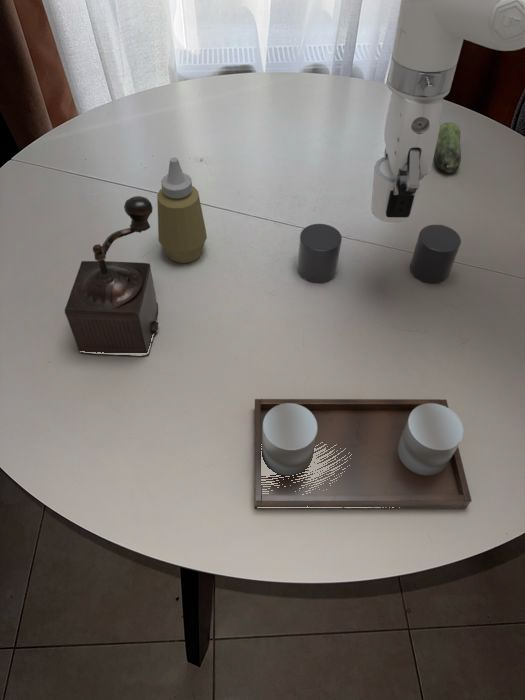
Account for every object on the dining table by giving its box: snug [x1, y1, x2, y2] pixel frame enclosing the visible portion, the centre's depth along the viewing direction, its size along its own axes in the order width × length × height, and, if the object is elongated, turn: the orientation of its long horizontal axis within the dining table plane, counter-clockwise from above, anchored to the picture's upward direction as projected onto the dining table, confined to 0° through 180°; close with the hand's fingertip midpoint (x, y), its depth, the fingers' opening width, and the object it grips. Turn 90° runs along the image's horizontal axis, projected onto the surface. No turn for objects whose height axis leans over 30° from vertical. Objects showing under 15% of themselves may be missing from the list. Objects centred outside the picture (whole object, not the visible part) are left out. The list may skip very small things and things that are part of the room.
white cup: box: [370, 156, 425, 224], centre depth 81 cm, size 7×7×7 cm
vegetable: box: [434, 121, 462, 174], centre depth 117 cm, size 14×5×5 cm, turn 170°
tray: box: [254, 398, 472, 509], centre depth 73 cm, size 26×15×7 cm, turn 91°
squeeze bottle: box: [156, 156, 208, 264], centre depth 92 cm, size 8×8×18 cm
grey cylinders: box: [296, 223, 462, 285], centre depth 95 cm, size 26×7×7 cm, turn 91°
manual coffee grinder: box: [64, 195, 159, 353], centre depth 83 cm, size 16×11×18 cm
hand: (393, 198), depth 82 cm, fingers closed on white cup, 6 cm apart
